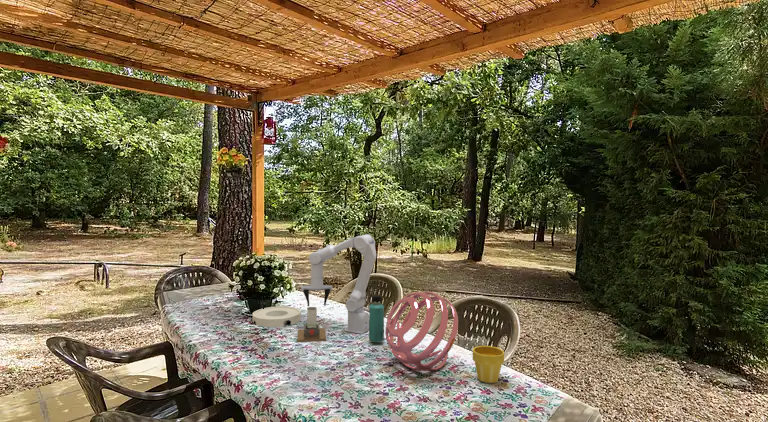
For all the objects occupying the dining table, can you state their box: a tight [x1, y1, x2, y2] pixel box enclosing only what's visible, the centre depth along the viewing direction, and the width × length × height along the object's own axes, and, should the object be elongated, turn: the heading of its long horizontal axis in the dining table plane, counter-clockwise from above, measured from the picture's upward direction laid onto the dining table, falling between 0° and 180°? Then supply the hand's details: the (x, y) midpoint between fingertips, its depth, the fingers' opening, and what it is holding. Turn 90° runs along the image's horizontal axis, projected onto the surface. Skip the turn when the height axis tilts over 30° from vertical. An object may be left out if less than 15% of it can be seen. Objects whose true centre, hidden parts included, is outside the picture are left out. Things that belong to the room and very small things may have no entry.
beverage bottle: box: [368, 294, 385, 343], centre depth 175 cm, size 6×7×20 cm
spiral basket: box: [385, 291, 459, 372], centre depth 152 cm, size 28×28×27 cm
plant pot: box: [472, 345, 505, 384], centre depth 141 cm, size 10×10×10 cm
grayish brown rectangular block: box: [306, 306, 318, 328], centre depth 182 cm, size 4×4×8 cm
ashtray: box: [251, 306, 302, 328], centre depth 206 cm, size 23×23×4 cm
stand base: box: [296, 323, 327, 343], centre depth 183 cm, size 14×12×4 cm
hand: (316, 305), depth 198 cm, fingers open, 7 cm apart
